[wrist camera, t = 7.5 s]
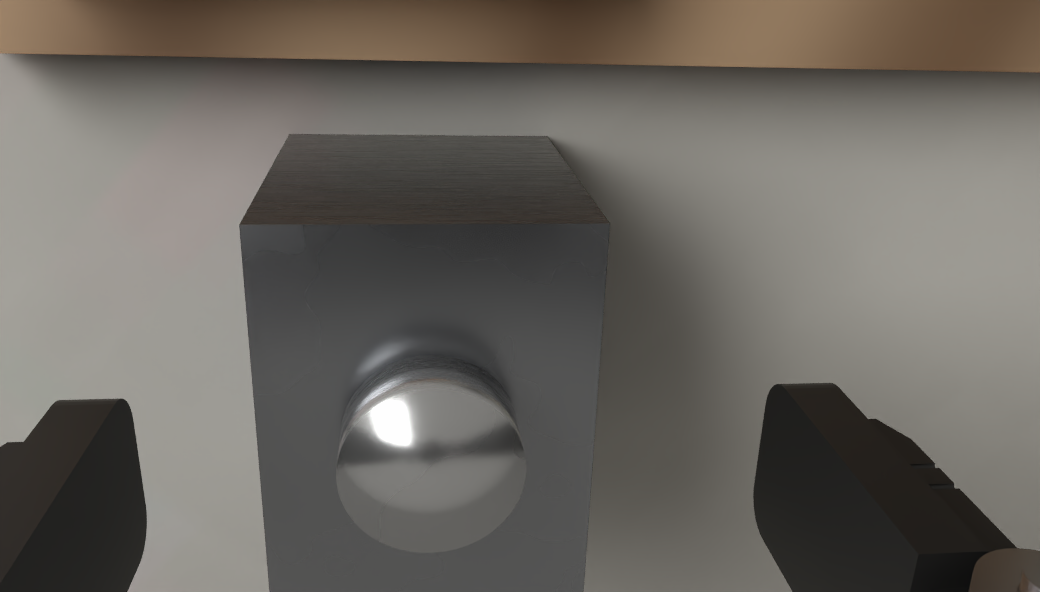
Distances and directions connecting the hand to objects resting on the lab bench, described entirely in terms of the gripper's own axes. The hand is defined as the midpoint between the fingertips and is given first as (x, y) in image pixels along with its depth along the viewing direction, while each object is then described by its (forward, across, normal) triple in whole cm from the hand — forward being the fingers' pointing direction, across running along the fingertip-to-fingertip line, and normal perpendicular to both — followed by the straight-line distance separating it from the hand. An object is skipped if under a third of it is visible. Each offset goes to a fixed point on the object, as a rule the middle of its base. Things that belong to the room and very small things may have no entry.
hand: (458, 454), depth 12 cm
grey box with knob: (+6, 0, 0) cm, 6 cm away
